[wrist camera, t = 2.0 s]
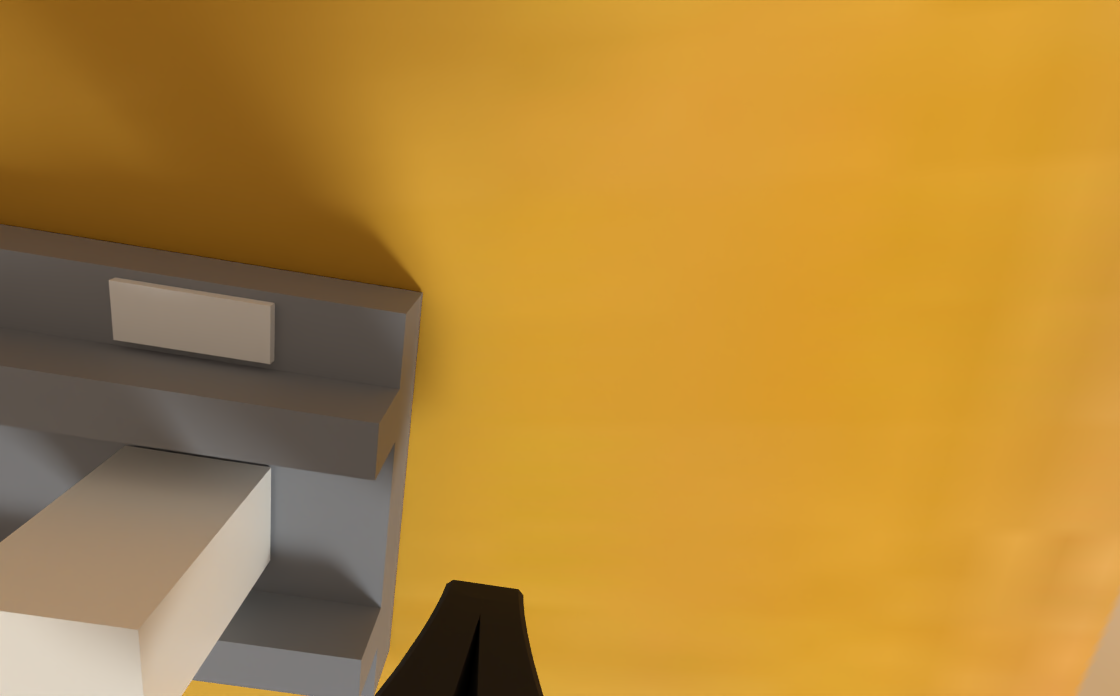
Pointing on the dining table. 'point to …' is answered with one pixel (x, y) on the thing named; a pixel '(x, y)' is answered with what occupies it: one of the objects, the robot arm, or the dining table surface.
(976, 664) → the dining table surface
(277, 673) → the switch board
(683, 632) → the dining table surface
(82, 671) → the switch tab
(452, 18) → the dining table surface
